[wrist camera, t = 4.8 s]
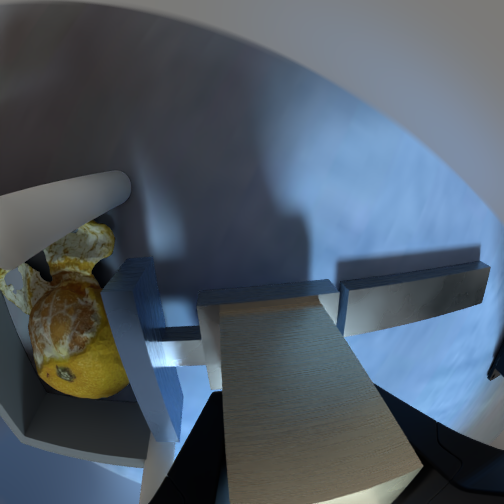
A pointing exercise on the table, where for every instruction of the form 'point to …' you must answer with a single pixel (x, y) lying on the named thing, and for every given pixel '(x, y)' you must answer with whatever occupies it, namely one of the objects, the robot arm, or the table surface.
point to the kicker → (266, 388)
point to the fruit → (71, 316)
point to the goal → (19, 367)
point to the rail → (408, 297)
